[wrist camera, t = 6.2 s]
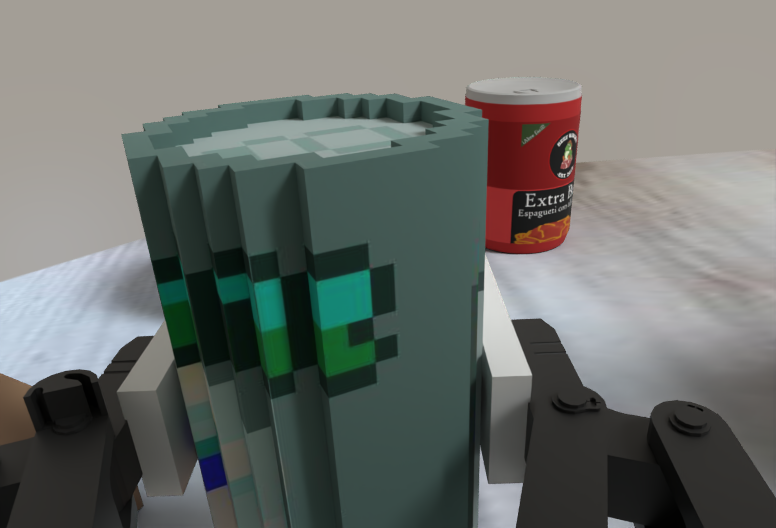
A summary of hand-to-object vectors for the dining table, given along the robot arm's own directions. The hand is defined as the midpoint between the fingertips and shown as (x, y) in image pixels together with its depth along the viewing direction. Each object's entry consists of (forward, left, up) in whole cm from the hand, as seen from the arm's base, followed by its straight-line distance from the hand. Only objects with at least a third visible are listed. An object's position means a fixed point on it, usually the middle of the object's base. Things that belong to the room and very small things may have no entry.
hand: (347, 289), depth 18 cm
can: (+4, +2, -9) cm, 10 cm away
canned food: (-28, -3, -9) cm, 29 cm away
